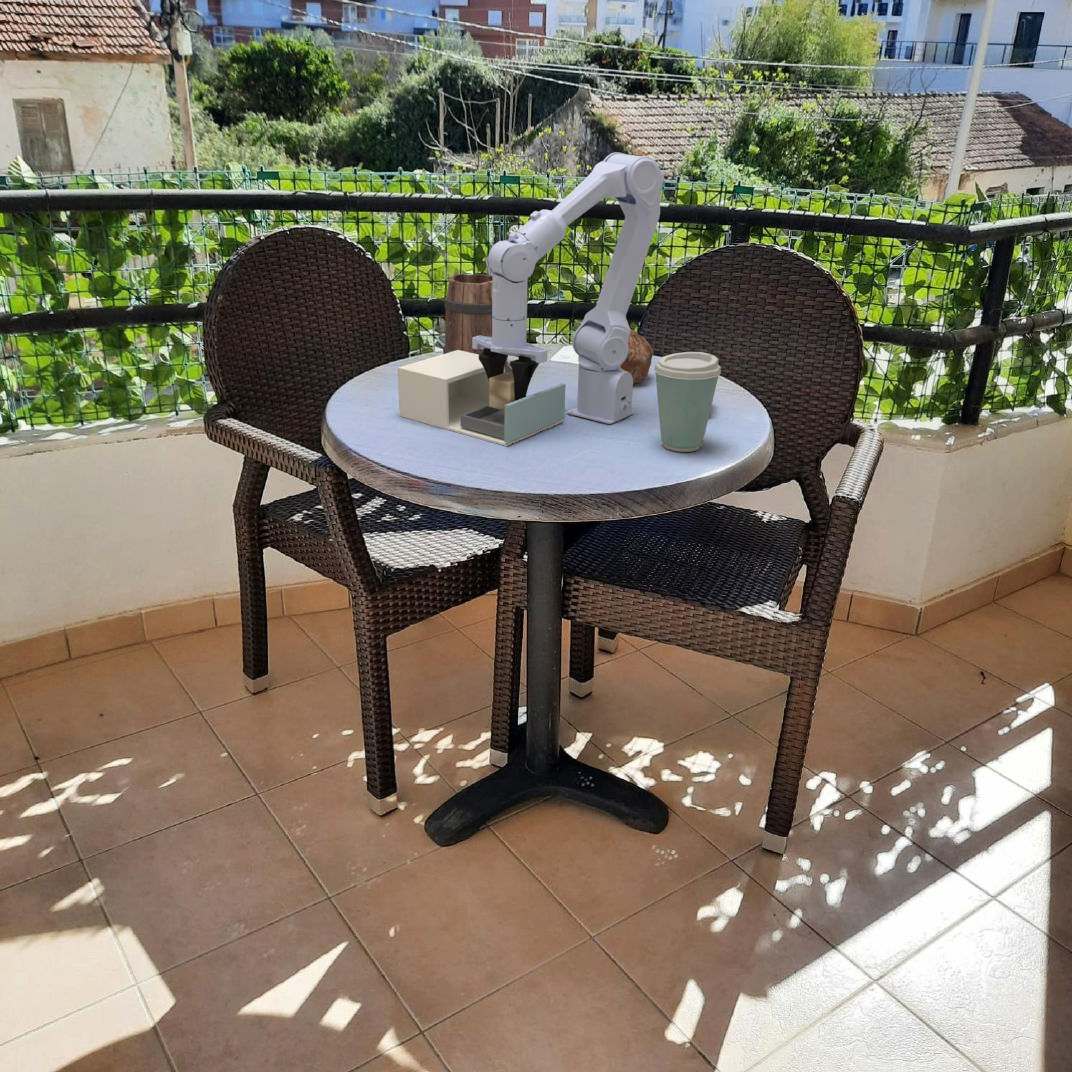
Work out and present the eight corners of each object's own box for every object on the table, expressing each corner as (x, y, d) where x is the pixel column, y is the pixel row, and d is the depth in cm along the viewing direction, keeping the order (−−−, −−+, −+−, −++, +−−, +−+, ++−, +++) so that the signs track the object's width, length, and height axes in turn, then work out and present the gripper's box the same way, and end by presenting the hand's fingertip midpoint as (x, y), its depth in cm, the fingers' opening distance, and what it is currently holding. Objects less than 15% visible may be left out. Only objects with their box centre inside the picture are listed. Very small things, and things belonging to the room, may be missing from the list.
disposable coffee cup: (669, 460, 155) (677, 368, 148) (636, 439, 164) (642, 351, 157) (725, 452, 159) (735, 362, 152) (690, 431, 168) (698, 346, 161)
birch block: (526, 405, 166) (526, 377, 164) (510, 411, 163) (510, 383, 161) (505, 400, 169) (505, 372, 167) (489, 406, 166) (489, 378, 163)
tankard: (486, 396, 183) (486, 290, 175) (416, 381, 191) (413, 278, 183) (550, 369, 201) (553, 271, 193) (484, 356, 209) (484, 262, 201)
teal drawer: (564, 418, 170) (565, 384, 167) (508, 442, 158) (508, 405, 156) (514, 406, 176) (514, 372, 173) (456, 428, 164) (456, 392, 162)
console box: (562, 422, 171) (563, 373, 167) (506, 446, 159) (506, 394, 155) (458, 395, 183) (457, 349, 180) (399, 416, 172) (397, 367, 168)
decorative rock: (598, 369, 202) (601, 321, 198) (652, 372, 201) (656, 324, 197) (592, 387, 191) (595, 336, 186) (649, 390, 189) (653, 340, 185)
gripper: (460, 314, 161) (461, 393, 166) (530, 328, 153) (528, 410, 159) (487, 307, 166) (487, 384, 172) (555, 320, 158) (553, 400, 164)
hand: (508, 396), depth 165 cm, fingers closed on birch block, 4 cm apart
